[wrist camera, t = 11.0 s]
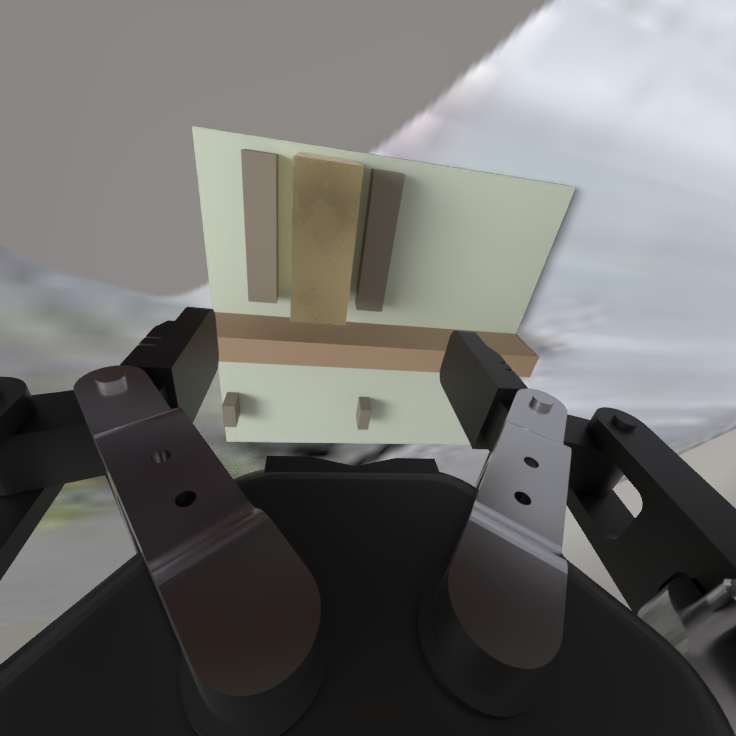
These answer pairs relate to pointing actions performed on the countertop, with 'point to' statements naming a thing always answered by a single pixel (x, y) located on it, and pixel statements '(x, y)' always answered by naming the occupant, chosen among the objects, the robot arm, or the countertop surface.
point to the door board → (424, 287)
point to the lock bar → (323, 236)
